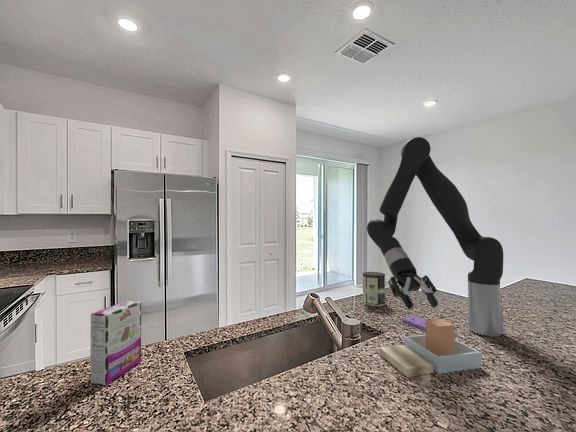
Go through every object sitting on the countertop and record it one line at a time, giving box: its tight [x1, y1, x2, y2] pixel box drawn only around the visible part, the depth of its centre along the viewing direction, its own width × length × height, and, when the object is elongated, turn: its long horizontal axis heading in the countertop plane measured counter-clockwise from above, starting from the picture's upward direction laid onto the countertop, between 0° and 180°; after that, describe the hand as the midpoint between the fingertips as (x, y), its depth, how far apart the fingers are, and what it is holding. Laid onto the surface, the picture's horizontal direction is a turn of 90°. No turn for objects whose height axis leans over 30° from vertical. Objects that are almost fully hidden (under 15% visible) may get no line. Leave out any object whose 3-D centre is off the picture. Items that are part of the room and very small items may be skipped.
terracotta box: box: [425, 318, 456, 356], centre depth 76 cm, size 5×5×10 cm
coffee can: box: [362, 271, 386, 307], centre depth 129 cm, size 10×10×14 cm
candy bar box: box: [89, 300, 142, 386], centre depth 68 cm, size 11×5×16 cm, turn 168°
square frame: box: [403, 333, 482, 375], centre depth 76 cm, size 13×13×4 cm
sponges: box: [402, 315, 427, 330], centre depth 101 cm, size 7×13×2 cm, turn 25°
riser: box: [379, 344, 434, 378], centre depth 73 cm, size 8×12×2 cm, turn 14°
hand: (423, 307), depth 82 cm, fingers open, 8 cm apart
